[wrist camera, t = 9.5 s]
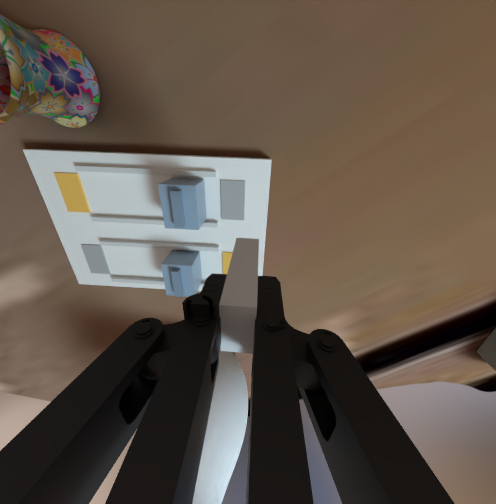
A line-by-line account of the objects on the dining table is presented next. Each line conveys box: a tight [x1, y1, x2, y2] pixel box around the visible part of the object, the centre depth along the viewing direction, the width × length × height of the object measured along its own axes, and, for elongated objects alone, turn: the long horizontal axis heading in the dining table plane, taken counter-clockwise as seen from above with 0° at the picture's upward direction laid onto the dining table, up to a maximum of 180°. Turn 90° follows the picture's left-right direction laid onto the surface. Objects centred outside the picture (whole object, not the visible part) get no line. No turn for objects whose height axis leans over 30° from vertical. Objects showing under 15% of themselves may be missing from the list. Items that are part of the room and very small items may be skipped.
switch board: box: [23, 149, 271, 291], centre depth 30 cm, size 30×20×3 cm, turn 88°
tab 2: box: [161, 250, 202, 297], centre depth 30 cm, size 4×5×5 cm
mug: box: [0, 14, 100, 128], centre depth 20 cm, size 12×9×11 cm
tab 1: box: [158, 178, 207, 230], centre depth 25 cm, size 4×5×5 cm
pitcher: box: [192, 346, 248, 504], centre depth 35 cm, size 24×17×28 cm
